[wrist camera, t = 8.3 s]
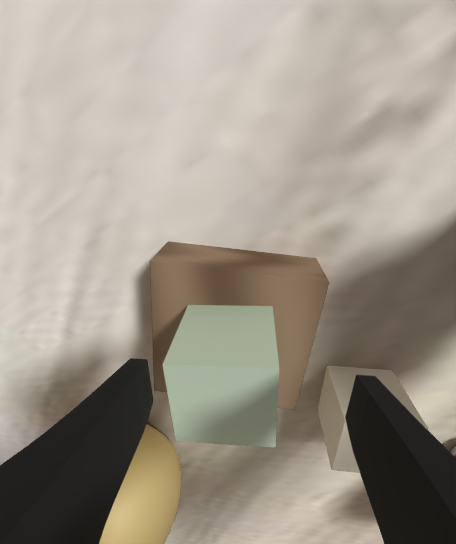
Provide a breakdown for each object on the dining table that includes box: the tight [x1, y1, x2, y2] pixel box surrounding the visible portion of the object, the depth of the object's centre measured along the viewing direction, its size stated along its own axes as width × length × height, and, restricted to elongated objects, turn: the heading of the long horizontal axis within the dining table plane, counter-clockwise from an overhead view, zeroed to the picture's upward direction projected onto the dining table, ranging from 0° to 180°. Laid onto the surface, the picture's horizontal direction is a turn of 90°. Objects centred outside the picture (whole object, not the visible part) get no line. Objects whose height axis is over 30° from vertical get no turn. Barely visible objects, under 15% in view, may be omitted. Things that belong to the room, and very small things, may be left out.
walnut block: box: [150, 242, 329, 410], centre depth 19 cm, size 10×10×4 cm
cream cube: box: [318, 365, 428, 473], centre depth 21 cm, size 5×5×5 cm
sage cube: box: [163, 305, 279, 447], centre depth 15 cm, size 5×5×5 cm
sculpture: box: [99, 424, 181, 544], centre depth 23 cm, size 12×12×11 cm
